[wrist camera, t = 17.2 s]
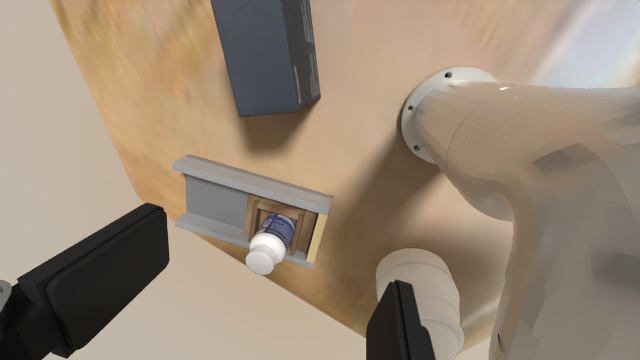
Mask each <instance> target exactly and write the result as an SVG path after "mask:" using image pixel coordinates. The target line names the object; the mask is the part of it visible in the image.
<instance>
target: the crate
mask: <svg viewBox="0 0 640 360" xmlns="http://www.w3.org/2000/svg"><path fill="white" fill-rule="evenodd" d="M272 212H273V213H276V214H279V215H283V216H286V217H289V218H293V219H295V221H296V227H295V232H294V236H293V238H292V240H291V243H290V245H289V247H288V249H287V252H286V254H289V255H292V256H294V254H295V251H296V250H298V251H301V252H304V253H307V250H308V247H309V244H310V240H311V236H312V233H313V229H314V225H315V221H316V218H317V214H318V213H316V212H313V211H310V210H306V209H303V208H299V207H296V206H293V205H289V204H286V203H283V202H279V201H276V200H273V199H269V198H266V197H262V196H259V195H256V194H252V193H249V192H248V197H247V206H246V215H245V224H244V233H243V234H246V235H249V240H248V242H251V240H252V238H253V237H254V235H255V234H256V233H257V231H258V230H259V228H260V227H261V225H262V224H263V222H264V221H265V219H266V218H267V217H268V215H269V214H270V213H272Z"/></svg>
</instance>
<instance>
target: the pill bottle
mask: <svg viewBox="0 0 640 360" xmlns="http://www.w3.org/2000/svg"><path fill="white" fill-rule="evenodd" d="M295 227H296V221H295V219H293V218H289V217H286V216H283V215H279V214H276V213H273V212H272V213H270V214H269V215H268V217H267V218H266V219H265V221H264V222H263V224H262V225H261V227H260V228H259V230H258V231H257V233H256V234H255V235H254V237H253V238H252V240H251V242H250V252H249V253H248V255H247V257H246V265H247V266H248V268H249V269H250V270H251V271H253V272H254V273H256V274H260V275H266V274H269V273H270V272H272V270H273V268H274V266H275V264H278V263H279V262H281V261H282V259H283V258H284V256H285V254H286V252H287V249H288V247H289V245H290V243H291V240H292V238H293V236H294V232H295Z"/></svg>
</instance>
